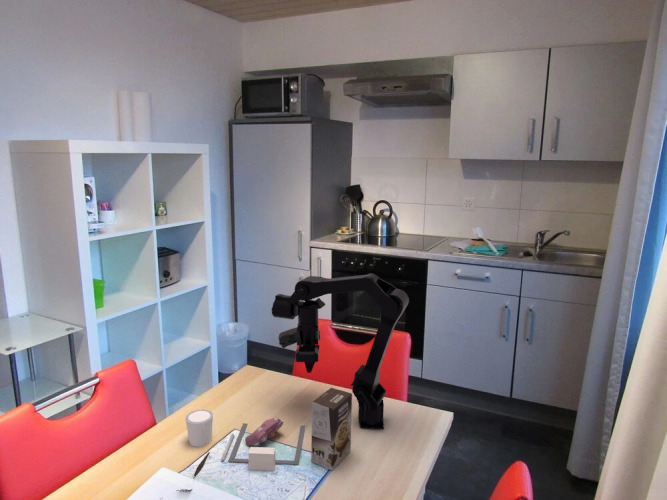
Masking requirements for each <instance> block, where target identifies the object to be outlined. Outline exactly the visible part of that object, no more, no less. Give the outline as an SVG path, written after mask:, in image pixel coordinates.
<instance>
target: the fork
mask: <svg viewBox="0 0 667 500" xmlns="http://www.w3.org/2000/svg"><path fill="white" fill-rule="evenodd" d="M209 455H210V451H209V452H207V453H206V455H205V456H204V457H203V459H202V460H201V461H200V462H199V464H198V466H197V467H196V469H195V470H194V471H195V472H194V474H193V476H192V478H193V479H194V480H195V479H196V477H197V476H198V474H199V473H200V472H201V471H202V469H204V468H203V467H204V466H205V464H206V461H207V458H208V457H209ZM182 490H183V489H182ZM182 490H180V491H179V489H176V492H182V493H183V492H185V493H187V492H188V493H189V491H188V490H187V491H185V490H184V491H182Z"/></svg>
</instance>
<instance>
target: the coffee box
mask: <svg viewBox="0 0 667 500" xmlns="http://www.w3.org/2000/svg"><path fill="white" fill-rule="evenodd" d="M352 409H353V392H352V393H351V392H348V391H346V390H345V391H344V390H341V389H338V388H333V387H330V388H329V389H328V390H326V391H324V392H323V393H322V394H320V395H319V396H318V397H317V398H315V399H314V400H312V402H311V444H310V445H311V455H310V457H311V458H310V459H311V460H310V461H311V463H314V464H315V465H318V466H319V467H323V468H325V469H327V470H329V471H333V470H334V469H335V468H336V467H337V466H338V465H340V463H341V462H342V461H343V459H345V458H346V457H347V456H348V455H349V454H350V453H351V451H352V449H351V448H352V447H351V445H352V415H353V414H352V411H353V410H352Z"/></svg>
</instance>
